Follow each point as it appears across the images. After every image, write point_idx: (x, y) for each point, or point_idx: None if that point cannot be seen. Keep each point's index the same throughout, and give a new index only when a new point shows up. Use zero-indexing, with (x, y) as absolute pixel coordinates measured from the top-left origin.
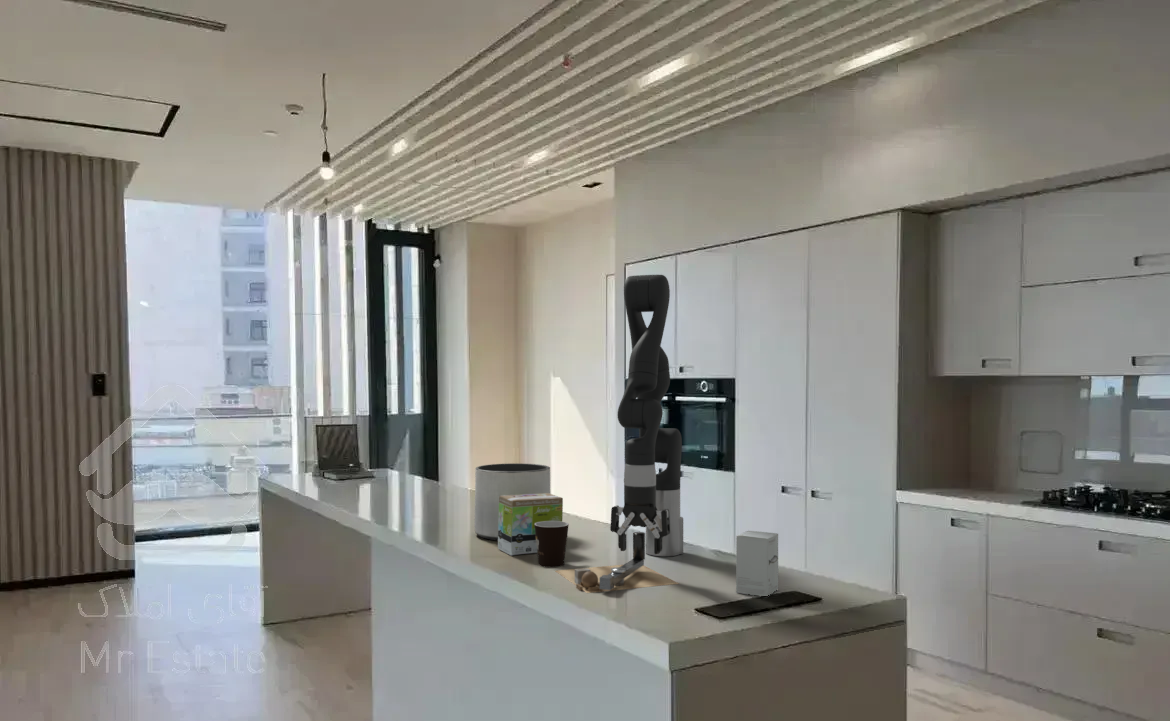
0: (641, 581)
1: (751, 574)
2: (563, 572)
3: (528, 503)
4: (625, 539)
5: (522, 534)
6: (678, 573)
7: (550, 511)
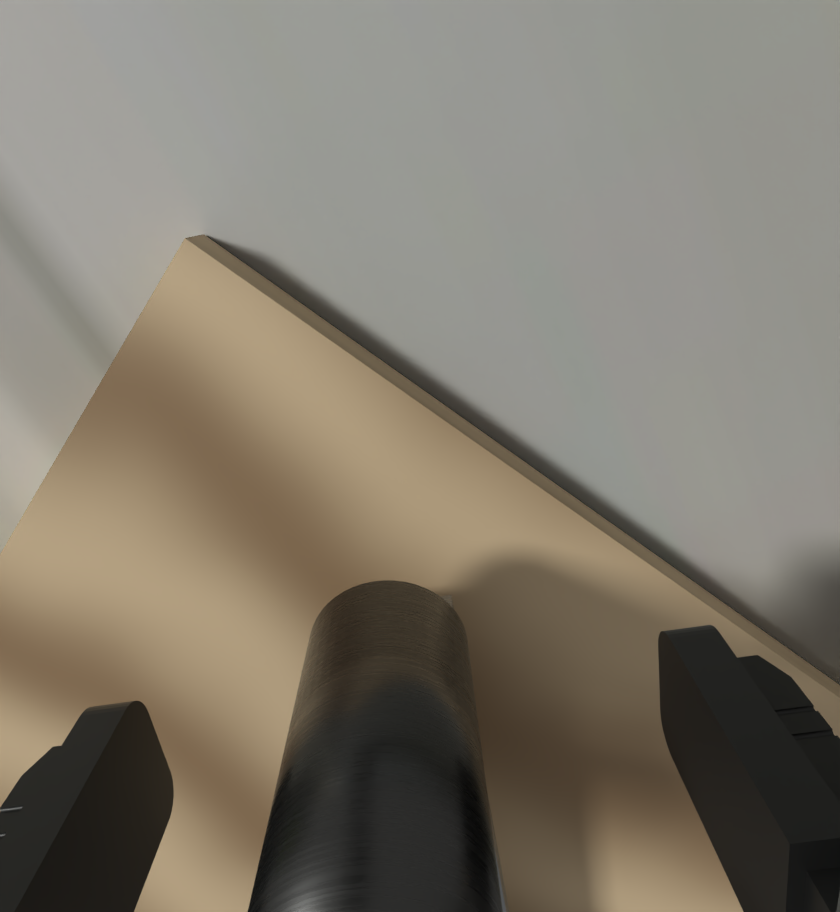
0: (603, 855)
1: None
2: None
3: None
4: (72, 869)
5: None
6: (738, 209)
7: None
